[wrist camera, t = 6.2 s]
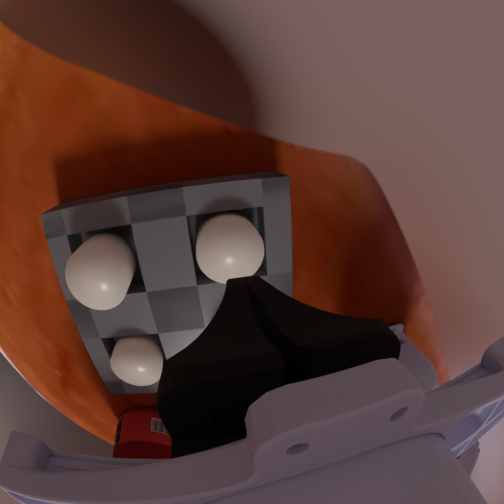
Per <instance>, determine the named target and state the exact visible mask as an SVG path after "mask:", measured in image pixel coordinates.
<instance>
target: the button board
mask: <svg viewBox="0 0 504 504" xmlns="http://www.w3.org/2000/svg"><path fill="white" fill-rule="evenodd" d="M228 210H237V211H239V212H241V213H243V214H244V215H246V216H247V217H248V218H249V220H250V221H251V222H252V224H253V225H254V227H255V228H256V230H257V231H258V233H259V234H260V236H261V238H262V240H263V244H264V257H263V261H262V263H261V265H260V267H259V269H258V270H257V271H256V272H255V273H254V274H253V275H258V276H259V277H261V278H262V279H264V280H265V281H266V282H268V283H269V284H271V285H272V286H273V287H275V288H276V289H278V290H280V291H281V292H283V293H284V294H286V295H288V296H290V297H292V235H291V204H290V180H289V176H287V175H285V174H282V173H280V172H277V171H274V172H261V173H250V174H240V175H230V176H221V177H212V178H204V179H196V180H188V181H181V182H174V183H167V184H161V185H154V186H148V187H142V188H136V189H131V190H125V191H120V192H114V193H109V194H104V195H99V196H94V197H89V198H85V199H80V200H76V201H71V202H67V203H63V204H59V205H57V206H55V207H53V208H52V209H50V210H48V211H46V212H44V213H42V214H41V218H42V222H43V226H44V230H45V234H46V238H47V242H48V246H49V249H50V253H51V256H52V260H53V263H54V266H55V270H56V273H57V276H58V279H59V282H60V285H61V288H62V290H63V293H64V296H65V299H66V301H67V304H68V307H69V309H70V312H71V314H72V317H73V319H74V322H75V324H76V326H77V329H78V331H79V333H80V336H81V338H82V340H83V342H84V345H85V347H86V349H87V351H88V353H89V355H90V357H91V359H92V361H93V363H94V365H95V367H96V369H97V371H98V373H99V375H100V377H101V379H102V381H103V382H104V384H105V386H106V388H107V390H108V391H109V393H110V394H141V393H157V390H158V384H159V380H160V379H159V380H158V381H157V382H155V383H154V384H151V385H147V386H136V385H132V384H129V383H127V382H124V381H123V380H121V379H120V378H119V377H117V376H116V375H115V373H114V372H113V370H112V368H111V365H110V359H111V356H112V353H113V350H114V346H115V343H116V340H117V337H124V336H136V335H146V334H158V335H159V337H160V341H161V344H162V347H163V350H164V356H163V366H164V364H165V361H166V360H167V359H169V358H170V357H172V356H174V355H175V354H177V353H178V352H180V351H181V350H183V349H184V348H186V347H187V346H188V345H189V344H191V343H192V342H193V341H194V340H195V339H196V338H197V337H198V336H199V335H200V334H201V333H202V332H203V331H204V329H205V328H206V327H207V326H208V324H209V323H210V321H211V320H212V318H213V317H214V315H215V313H216V311H217V309H218V307H219V305H220V303H221V301H222V298H223V295H224V293H225V289H226V284H223V283H219V282H216V281H214V280H212V279H210V278H209V277H207V276H206V275H205V274H204V273H203V272H202V270H201V269H200V267H199V265H198V262H197V258H196V234H197V230H198V227H199V225H200V223H201V222H202V220H203V219H204V218H205V217H206V216H207V215H209V214H210V213H212V212H220V211H228ZM98 232H112V233H115V234H117V235H119V236H121V237H122V238H124V239H125V240H126V241H127V242H128V243H129V244H130V246H131V247H132V249H133V251H134V253H135V257H136V270H135V273H134V276H133V278H132V281H131V283H130V285H129V288H128V290H127V293H126V295H125V297H124V299H123V300H122V302H121V303H120V304H119V305H117V306H116V307H114V308H112V309H109V310H95V309H92V308H89V307H87V306H85V305H83V304H82V303H80V302H79V301H78V300H77V299H76V298H75V297H74V296H73V294H72V293H71V291H70V290H69V288H68V285H67V282H66V278H65V268H66V264H67V261H68V259H69V258H70V256H71V255H72V254H73V253H74V252H75V251H76V250H77V249H78V248H79V247H80V246H81V245H82V244H83V243H84V242H85V241H86V240H87V239H88V238H89V237H90V236H92V235H93V234H95V233H98ZM253 275H252V276H253ZM162 369H163V367H162Z"/></svg>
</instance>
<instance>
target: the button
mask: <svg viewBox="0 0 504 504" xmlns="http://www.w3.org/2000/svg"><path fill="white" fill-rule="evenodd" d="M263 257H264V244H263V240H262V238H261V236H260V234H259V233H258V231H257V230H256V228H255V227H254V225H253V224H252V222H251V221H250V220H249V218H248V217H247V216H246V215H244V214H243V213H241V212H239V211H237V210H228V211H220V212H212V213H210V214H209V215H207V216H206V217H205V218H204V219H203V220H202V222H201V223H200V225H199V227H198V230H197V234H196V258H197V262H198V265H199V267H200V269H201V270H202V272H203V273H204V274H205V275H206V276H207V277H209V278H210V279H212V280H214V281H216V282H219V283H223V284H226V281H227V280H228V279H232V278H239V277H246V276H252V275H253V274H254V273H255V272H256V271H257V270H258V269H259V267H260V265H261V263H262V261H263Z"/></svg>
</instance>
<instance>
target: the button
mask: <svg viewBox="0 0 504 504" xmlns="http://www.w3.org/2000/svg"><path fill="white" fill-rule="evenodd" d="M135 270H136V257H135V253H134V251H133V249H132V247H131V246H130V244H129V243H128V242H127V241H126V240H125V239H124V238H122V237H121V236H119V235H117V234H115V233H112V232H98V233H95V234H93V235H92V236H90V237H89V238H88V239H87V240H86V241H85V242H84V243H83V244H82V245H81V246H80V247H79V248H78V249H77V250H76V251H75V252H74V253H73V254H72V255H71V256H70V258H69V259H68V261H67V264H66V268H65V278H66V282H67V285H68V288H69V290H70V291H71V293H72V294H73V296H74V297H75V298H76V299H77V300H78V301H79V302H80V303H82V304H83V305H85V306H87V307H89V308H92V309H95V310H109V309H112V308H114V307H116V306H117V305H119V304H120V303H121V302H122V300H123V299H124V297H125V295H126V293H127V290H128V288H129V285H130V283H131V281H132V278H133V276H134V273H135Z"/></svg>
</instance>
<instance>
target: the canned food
mask: <svg viewBox="0 0 504 504" xmlns="http://www.w3.org/2000/svg"><path fill="white" fill-rule="evenodd" d="M113 458H127V459H171V438H170V436H169V434H168V432H167V430H166V429H165V427H164V425H163V423H162V421H161V419H160V417H159V415H158V412H157V408H153V407H135V408H131V409H128V410H126V411H125V412H123V414H122V415H121V417H120V418H119V420H118V424H117V430H116V437H115V443H114V451H113Z"/></svg>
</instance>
